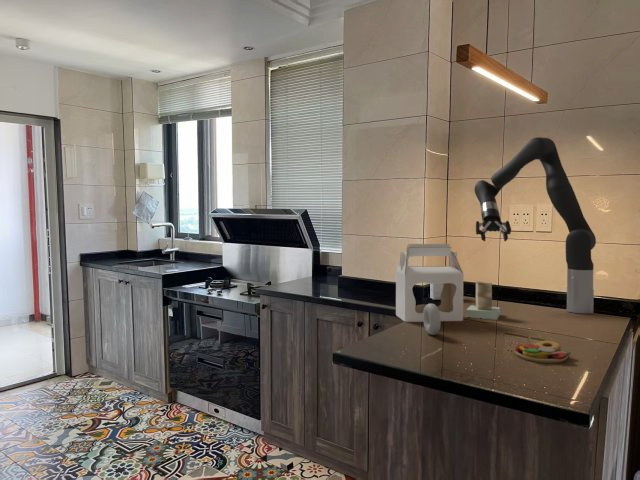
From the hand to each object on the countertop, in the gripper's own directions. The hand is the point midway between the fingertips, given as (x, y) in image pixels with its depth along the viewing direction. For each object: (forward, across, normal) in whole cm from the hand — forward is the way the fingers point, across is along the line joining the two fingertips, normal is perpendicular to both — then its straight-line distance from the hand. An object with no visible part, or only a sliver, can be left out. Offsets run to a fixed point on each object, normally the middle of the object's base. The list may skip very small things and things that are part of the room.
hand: (495, 240), depth 202 cm
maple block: (+34, -8, +3) cm, 35 cm away
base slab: (+36, -8, +5) cm, 37 cm away
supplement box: (+5, -21, +35) cm, 42 cm away
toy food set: (+76, -2, -34) cm, 84 cm away
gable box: (+41, -29, 0) cm, 51 cm away
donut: (+61, -30, -20) cm, 71 cm away
